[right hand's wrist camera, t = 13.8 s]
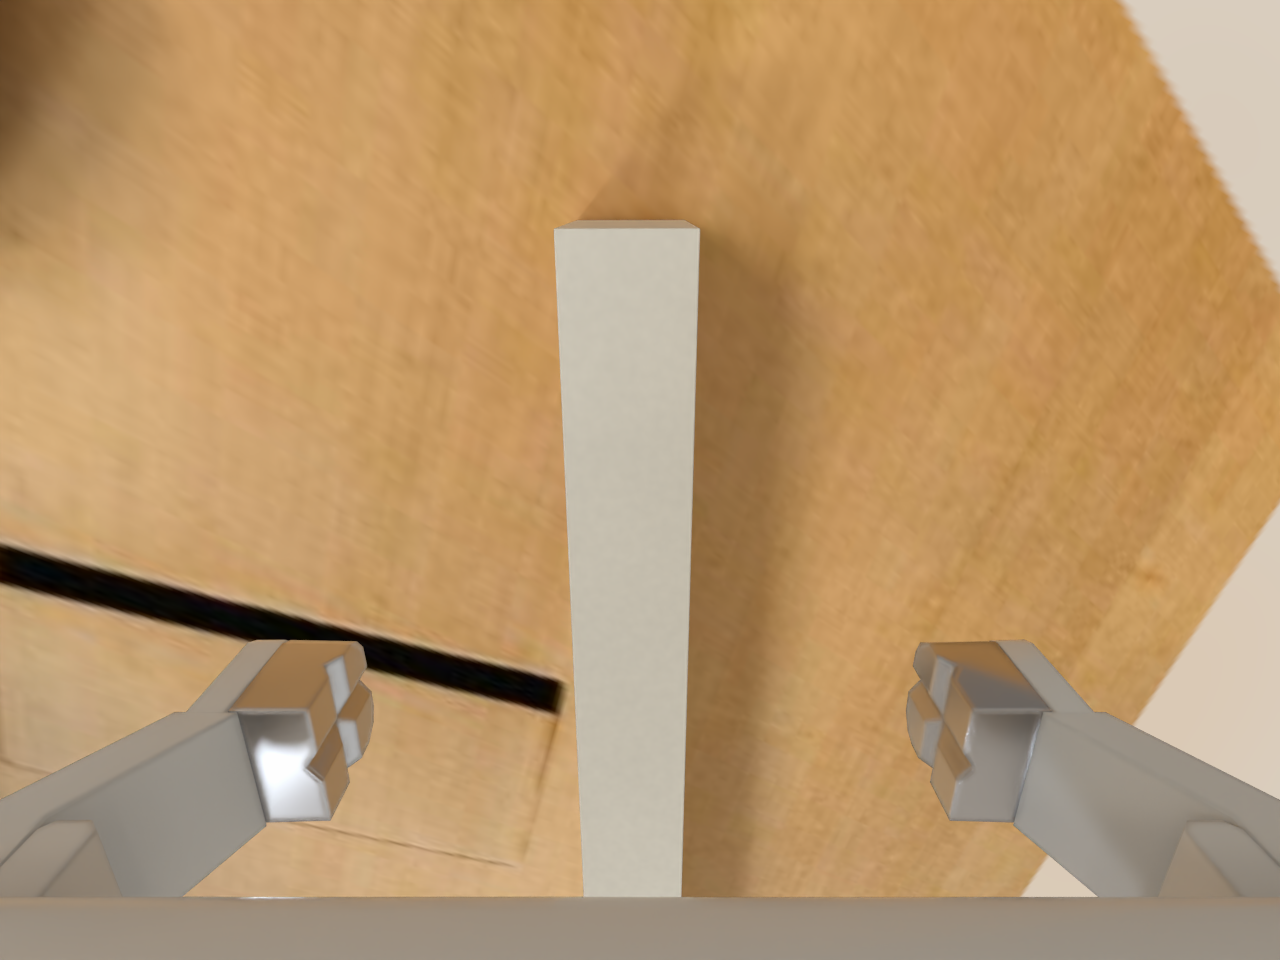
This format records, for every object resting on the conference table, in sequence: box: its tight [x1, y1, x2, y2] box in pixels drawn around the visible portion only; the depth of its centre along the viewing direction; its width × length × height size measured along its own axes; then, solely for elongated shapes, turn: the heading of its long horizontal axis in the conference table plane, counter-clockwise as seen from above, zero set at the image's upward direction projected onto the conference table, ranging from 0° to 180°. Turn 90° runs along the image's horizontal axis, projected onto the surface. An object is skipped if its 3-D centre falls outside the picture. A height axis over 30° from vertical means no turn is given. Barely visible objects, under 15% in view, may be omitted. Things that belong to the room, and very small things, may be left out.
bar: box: [554, 220, 700, 897], centre depth 38 cm, size 59×5×9 cm, turn 0°
